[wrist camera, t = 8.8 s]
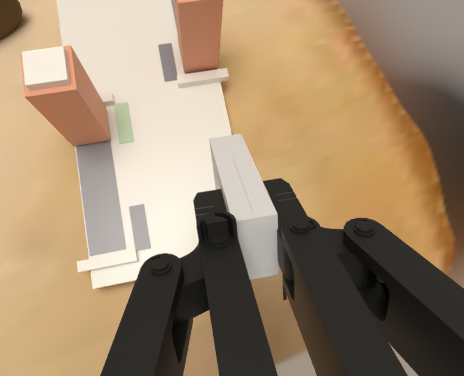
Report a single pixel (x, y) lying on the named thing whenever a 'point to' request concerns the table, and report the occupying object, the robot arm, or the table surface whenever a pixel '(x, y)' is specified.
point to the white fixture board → (141, 134)
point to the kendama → (9, 16)
